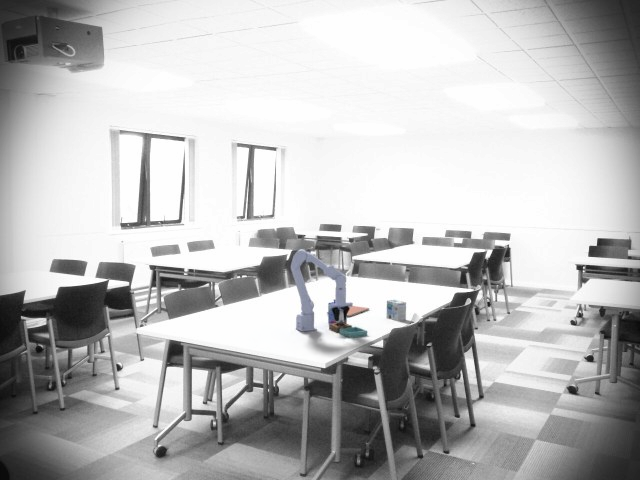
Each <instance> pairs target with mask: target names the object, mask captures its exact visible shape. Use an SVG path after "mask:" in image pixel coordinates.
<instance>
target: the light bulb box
mask: <svg viewBox="0 0 640 480" xmlns="http://www.w3.org/2000/svg"><path fill="white" fill-rule="evenodd" d="M386 319H390V320H393V321H396V322H398V321H399V322H401V321H406V320H407V302H406V301H401V300H398V299H390V300H389V299H388V300H387V301H386Z"/></svg>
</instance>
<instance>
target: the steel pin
mask: <svg viewBox="0 0 640 480" xmlns="http://www.w3.org/2000/svg"><path fill="white" fill-rule="evenodd" d="M337 326H344V310H343V309H340V311H339V319H338V321H337Z"/></svg>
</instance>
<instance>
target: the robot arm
mask: <svg viewBox="0 0 640 480" xmlns="http://www.w3.org/2000/svg"><path fill="white" fill-rule="evenodd" d="M304 262H306V263H312V264H314V265H315V266H317V267H318V268H319V269H321V270H322V271H323V274H324V275H325V276H327V277H328V278H330V279H331V280H333V281H334V283H335V299H334V300H335V303H334V304H330V305H327V306H328V307H327V309H328V308H329V309H332V311H333V314H334V317H335V321H338V319H339V311H340V309H338V308H339V307H341V308H342V309H343V310H344V320H346V316H347V313H348V311H349V310H350V308H349V306H351V307H352V306H354V305H353V304H354V303H353V302H347V276H346V275H345V274H344V273H343V272H342V271H341V270H340V271H339V270H338V269H337V268H335V266H334V265H331V264H328V265H327V264H326V263H324V262H323V261H322V260H320V259H319V258H318V257H317V256H315V255H314V254H312V253H311V252H310V251H307V250H306V249H304V248H301V249H299V250H297V251H296V252H295V253H294V255H293V256H292V260H291V263H290V270H291V274H292V277H293V279H294V283H295V286H296V289H297V292H298V295H299V298H300V304H301V307H300V308H301V312H300V313H299V314H296V318H295V322H296V323H295V325H296V327H295V329H296V330H298V331H300V332H311V331H317V330H318V329H317V328H316V327H315V311H314V307H315V303H314V302H313V301H312V299H311V297H310V295H309V292H308V290H307V285H306V282H305V279H304V275H303V274H302V271H301V266H302V265H303V263H304Z"/></svg>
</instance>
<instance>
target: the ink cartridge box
mask: <svg viewBox="0 0 640 480" xmlns="http://www.w3.org/2000/svg"><path fill="white" fill-rule="evenodd" d="M334 303H335V299H333V301H332V302H328V303H327V304H328V305H330V304H334ZM328 305H327V306H328ZM327 309H328V311H327V312H328V314H327V315H328V316H327V317H328V318H327V319H328V320H327V321H328V323H327V324H328V325H329V324H333V323H337V321H335V317H334V314H333V311H332V309H329V308H328V307H327ZM338 309H342V308H341V307H339V308H338ZM347 319H348V317H347V316H346V320H344V323H346V324H348V322H347V321H348V320H347Z"/></svg>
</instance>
